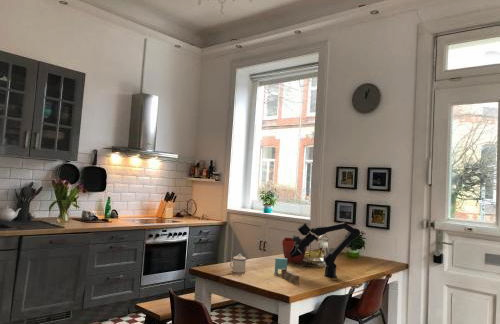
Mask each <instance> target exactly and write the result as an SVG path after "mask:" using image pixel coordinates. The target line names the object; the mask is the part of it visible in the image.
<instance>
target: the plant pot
mask: <svg viewBox="0 0 500 324" xmlns="http://www.w3.org/2000/svg"><path fill="white" fill-rule="evenodd" d="M292 238H293V237H284V238H283V239H282V241H281V242H282V243H281V244H282V250H283V251H282V252H283V256H284V258H287V263H293V264H294V263H295V264H302V263H303V262H304V259H305V256H304V255H306V253H307V248H308V246H307V247H306V248H305V252H306V253H304V254H302V253H301V254H302V255H299V256H295V257H292V258H291V257H290V256H291V255H289V253H290V252H291V251H292V249H293V247H294V245H295V244H294V243H295V242H296V241H293V240H292ZM302 261H303V262H302ZM301 262H302V263H301Z"/></svg>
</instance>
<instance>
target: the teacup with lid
mask: <svg viewBox="0 0 500 324" xmlns="http://www.w3.org/2000/svg"><path fill="white" fill-rule="evenodd" d="M246 263H247V258H246V257H244V256H243V255H242V254H241V253H238V254H237V255H236V256H233V258H232V260H231V261H230V263H229V267H230V268H231V269H232V272H233V273H237V274H238V273H239V274H240V273H241V274H242V273H243V274H244V273H245V272H246Z"/></svg>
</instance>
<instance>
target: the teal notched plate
mask: <svg viewBox="0 0 500 324" xmlns="http://www.w3.org/2000/svg"><path fill="white" fill-rule="evenodd" d="M281 269H286V271H288V262H287V258H285V257H284V258H282V257H275V259H274V274H278V273H279V270H281Z"/></svg>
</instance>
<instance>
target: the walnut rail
mask: <svg viewBox="0 0 500 324" xmlns="http://www.w3.org/2000/svg"><path fill="white" fill-rule="evenodd" d="M280 270H281V271H280V272H281V273H280V278H283V279H285V280H286V281H288V282H290V283H292V284H293V285H300V275H298V274H296V273H295V272H292V271H290V270H287V271H286V269H280Z"/></svg>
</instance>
